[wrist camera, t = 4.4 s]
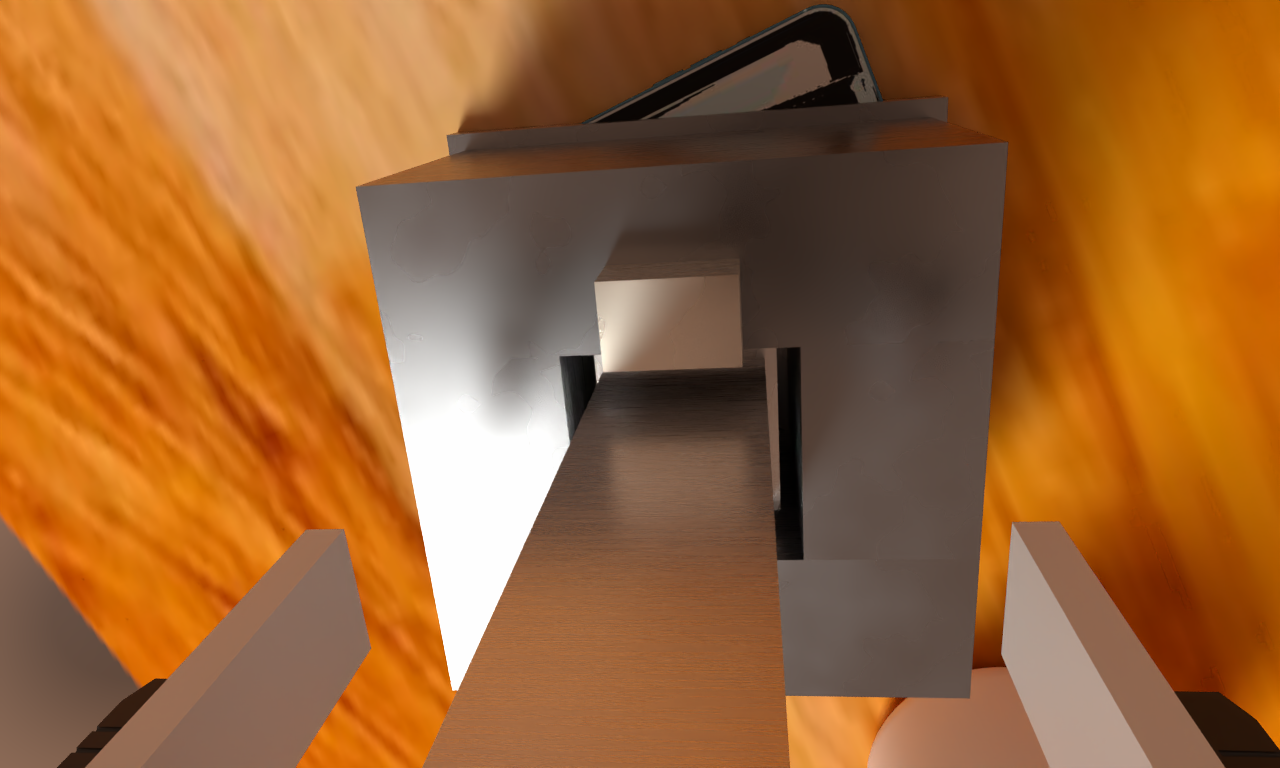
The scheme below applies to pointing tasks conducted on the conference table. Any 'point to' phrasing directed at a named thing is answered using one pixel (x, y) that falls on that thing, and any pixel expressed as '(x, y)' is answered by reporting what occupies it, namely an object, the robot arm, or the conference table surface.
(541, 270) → the housing
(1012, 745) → the cup
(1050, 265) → the conference table surface
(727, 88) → the smartphone
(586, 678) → the column
